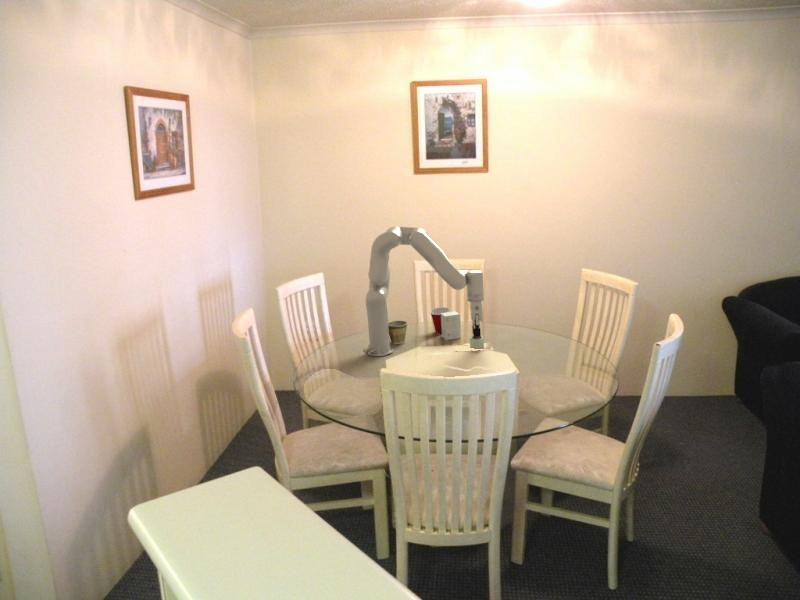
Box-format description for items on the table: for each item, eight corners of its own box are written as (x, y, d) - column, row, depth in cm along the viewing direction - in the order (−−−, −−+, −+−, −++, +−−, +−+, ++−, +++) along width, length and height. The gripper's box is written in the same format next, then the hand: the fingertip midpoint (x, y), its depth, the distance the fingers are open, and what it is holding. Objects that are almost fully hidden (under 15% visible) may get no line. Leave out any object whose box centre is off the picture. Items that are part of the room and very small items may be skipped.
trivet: (454, 354, 299) (454, 352, 299) (452, 345, 311) (452, 344, 311) (493, 351, 299) (493, 350, 299) (490, 343, 310) (490, 342, 310)
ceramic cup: (406, 345, 315) (404, 326, 313) (386, 345, 317) (384, 326, 315) (410, 337, 327) (409, 318, 325) (391, 337, 329) (390, 318, 327)
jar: (479, 350, 299) (478, 340, 298) (467, 348, 303) (466, 338, 302) (486, 346, 304) (486, 336, 303) (475, 344, 308) (474, 334, 307)
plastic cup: (426, 332, 334) (424, 310, 331) (440, 328, 341) (439, 306, 338) (441, 336, 326) (440, 313, 323) (455, 331, 333) (455, 309, 330)
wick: (477, 347, 301) (477, 323, 298) (472, 346, 303) (471, 322, 300) (481, 345, 304) (480, 321, 301) (476, 344, 306) (475, 320, 302)
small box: (457, 335, 326) (456, 311, 322) (461, 339, 320) (460, 314, 317) (441, 338, 324) (440, 313, 321) (445, 341, 318) (444, 316, 315)
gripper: (485, 301, 290) (486, 340, 294) (481, 292, 306) (482, 329, 310) (468, 301, 290) (470, 340, 294) (465, 293, 306) (466, 330, 310)
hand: (476, 334), depth 302 cm, fingers open, 3 cm apart
